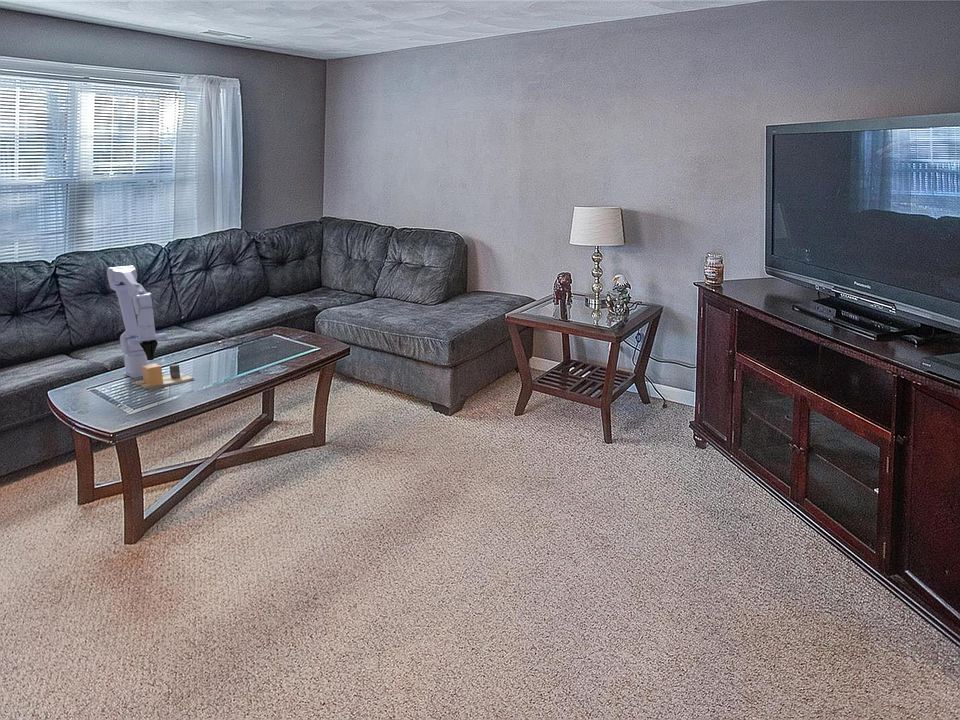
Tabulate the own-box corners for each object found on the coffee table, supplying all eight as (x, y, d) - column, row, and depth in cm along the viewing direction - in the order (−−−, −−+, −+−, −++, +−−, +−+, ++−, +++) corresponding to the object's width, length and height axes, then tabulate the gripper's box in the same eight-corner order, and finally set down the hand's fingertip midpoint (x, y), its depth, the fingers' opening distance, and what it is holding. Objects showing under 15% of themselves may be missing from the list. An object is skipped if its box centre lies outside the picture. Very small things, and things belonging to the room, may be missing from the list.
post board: (135, 383, 287) (133, 369, 286) (179, 373, 300) (177, 360, 299) (149, 390, 280) (147, 375, 278) (194, 379, 293) (192, 365, 291)
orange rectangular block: (143, 382, 286) (141, 366, 284) (156, 379, 290) (154, 363, 288) (150, 385, 283) (147, 368, 281) (163, 382, 287) (161, 365, 285)
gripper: (131, 330, 273) (136, 365, 276) (169, 323, 283) (173, 357, 287) (123, 327, 277) (128, 362, 281) (161, 321, 288) (165, 354, 291)
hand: (150, 359), depth 284 cm, fingers closed
